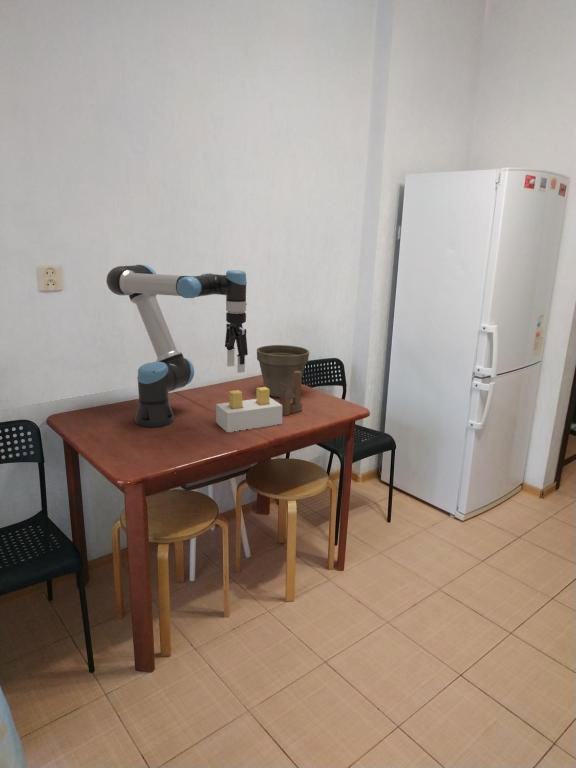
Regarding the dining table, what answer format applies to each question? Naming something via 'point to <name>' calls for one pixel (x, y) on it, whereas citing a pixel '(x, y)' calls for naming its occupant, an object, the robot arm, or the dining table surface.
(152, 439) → the dining table surface
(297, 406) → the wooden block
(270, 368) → the plant pot
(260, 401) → the peg far
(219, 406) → the socket block
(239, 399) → the peg near
